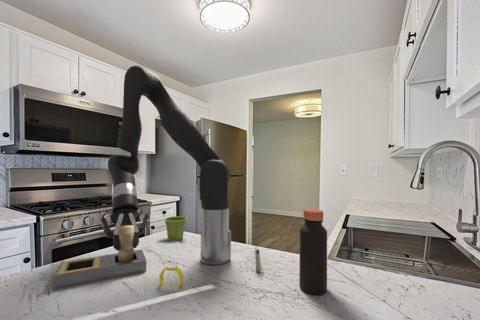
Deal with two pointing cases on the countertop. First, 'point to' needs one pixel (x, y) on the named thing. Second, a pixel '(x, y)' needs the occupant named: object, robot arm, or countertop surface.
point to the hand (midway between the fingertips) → (126, 247)
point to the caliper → (257, 258)
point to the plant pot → (175, 227)
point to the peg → (126, 243)
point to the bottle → (313, 253)
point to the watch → (171, 268)
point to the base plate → (97, 269)
